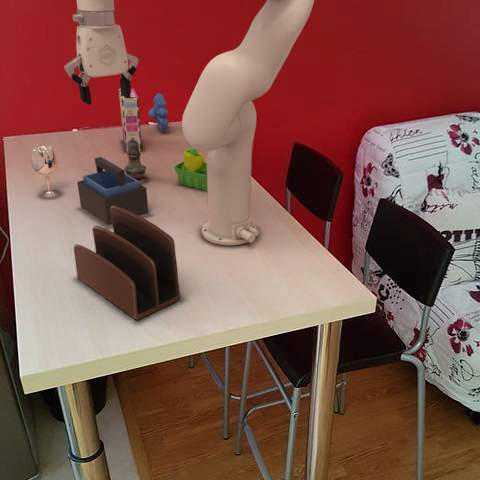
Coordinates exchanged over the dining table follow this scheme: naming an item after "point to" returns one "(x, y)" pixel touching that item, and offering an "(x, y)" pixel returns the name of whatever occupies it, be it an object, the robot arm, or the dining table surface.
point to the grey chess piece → (134, 161)
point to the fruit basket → (192, 170)
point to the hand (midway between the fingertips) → (107, 100)
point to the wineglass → (44, 162)
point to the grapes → (160, 112)
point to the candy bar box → (130, 118)
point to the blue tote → (110, 179)
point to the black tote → (112, 202)
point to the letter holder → (131, 264)
